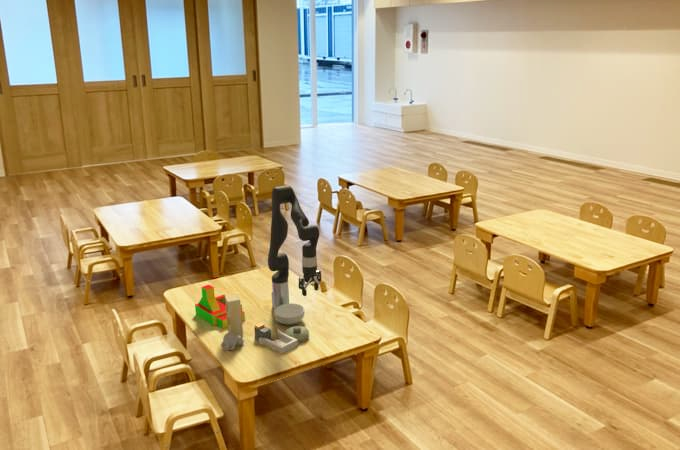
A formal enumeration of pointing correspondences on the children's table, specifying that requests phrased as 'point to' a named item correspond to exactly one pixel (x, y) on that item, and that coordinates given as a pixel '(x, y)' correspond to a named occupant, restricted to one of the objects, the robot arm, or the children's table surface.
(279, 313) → the cereal bowl
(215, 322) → the building blocks toy
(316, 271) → the robot arm
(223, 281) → the children's table surface
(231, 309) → the toy refrigerator
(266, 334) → the orange-panel grey block
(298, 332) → the grey bracket and lid
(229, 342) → the toy rhinoceros
